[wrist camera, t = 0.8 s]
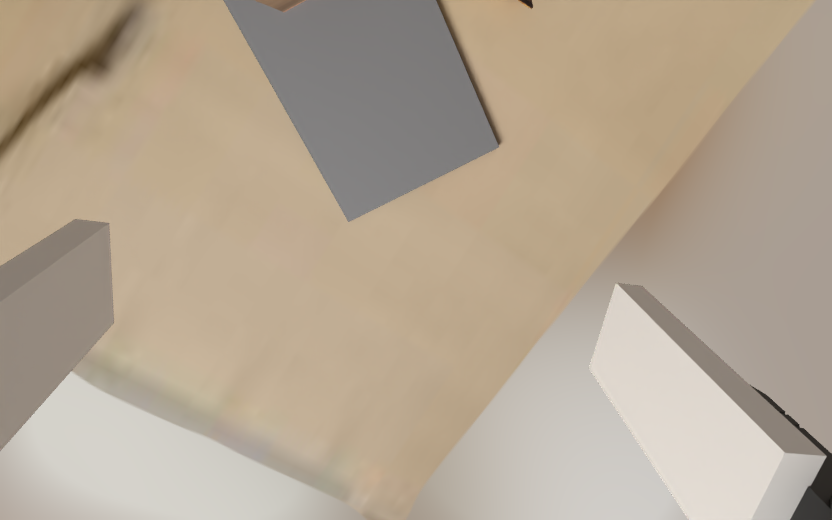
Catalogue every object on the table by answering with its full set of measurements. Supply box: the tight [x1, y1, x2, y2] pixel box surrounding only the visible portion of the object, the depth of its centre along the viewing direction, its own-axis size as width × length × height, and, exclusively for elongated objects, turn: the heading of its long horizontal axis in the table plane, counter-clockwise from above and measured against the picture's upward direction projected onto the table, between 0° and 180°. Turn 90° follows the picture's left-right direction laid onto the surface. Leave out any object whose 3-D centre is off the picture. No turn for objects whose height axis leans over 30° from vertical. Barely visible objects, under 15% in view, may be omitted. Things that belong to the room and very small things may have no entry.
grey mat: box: [224, 0, 499, 222], centre depth 35 cm, size 24×12×1 cm, turn 26°
